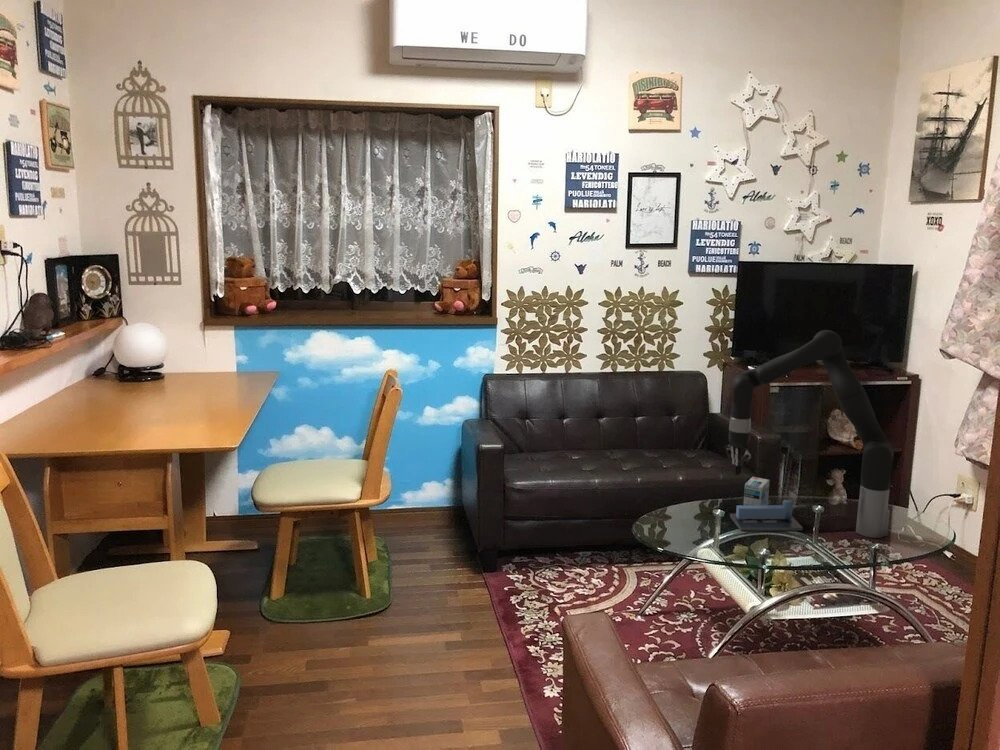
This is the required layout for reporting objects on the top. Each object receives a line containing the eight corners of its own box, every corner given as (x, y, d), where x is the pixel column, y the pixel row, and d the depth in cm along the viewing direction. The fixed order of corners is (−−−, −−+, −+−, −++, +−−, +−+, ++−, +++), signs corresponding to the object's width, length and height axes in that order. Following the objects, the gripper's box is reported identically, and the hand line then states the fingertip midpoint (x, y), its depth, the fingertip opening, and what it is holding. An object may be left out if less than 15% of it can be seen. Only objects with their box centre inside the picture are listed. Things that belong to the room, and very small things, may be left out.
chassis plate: (789, 516, 294) (789, 512, 294) (802, 530, 282) (803, 526, 281) (730, 516, 294) (730, 512, 294) (740, 530, 282) (741, 526, 281)
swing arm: (789, 515, 291) (790, 499, 290) (793, 519, 287) (794, 503, 286) (735, 515, 291) (736, 499, 290) (738, 519, 287) (739, 503, 286)
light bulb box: (760, 515, 296) (762, 487, 294) (742, 511, 300) (744, 484, 297) (768, 506, 305) (770, 479, 303) (750, 502, 309) (752, 476, 306)
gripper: (719, 425, 294) (716, 470, 297) (744, 435, 282) (741, 481, 286) (735, 423, 297) (732, 467, 300) (760, 432, 285) (757, 478, 289)
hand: (736, 474), depth 293 cm, fingers closed
